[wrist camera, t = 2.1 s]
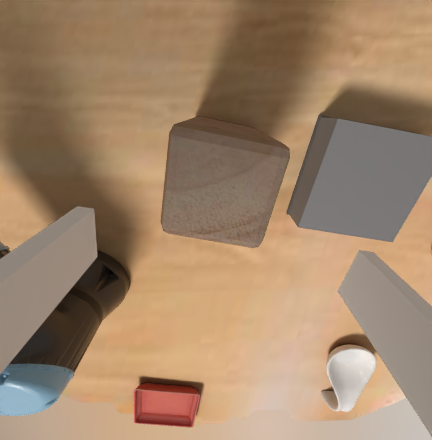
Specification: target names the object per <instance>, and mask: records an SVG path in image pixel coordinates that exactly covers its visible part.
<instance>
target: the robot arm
mask: <svg viewBox="0 0 432 440" xmlns="http://www.w3.org/2000/svg"><path fill="white" fill-rule="evenodd" d="M9 249H10V248H9V247H8V246H5V245H4V244H2V243H1V242H0V415H7V416H20V415H29V414H34V413H37V412H41V411H43V410H45V409H47V408H49V407H50V406H51V405H53V404H54V403H55V402H56V401H57V400H58V398H59V397H60V395H61V394H62V392H63V390H64V389H65V387H66V386H67V384H68V383H69V381H70V380H71V379H72V378H73V376H74V372H75V370H76V368H77V367H78V365H79V363H80V361H81V359H82V357H83V355H84V353H85V352H86V350H87V348H88V346H89V344H90V342H91V341H92V339H93V337H94V335H95V333H96V331H97V330H98V328H99V326H100V324H101V322H102V321H103V320H104V319H105V318H106V317H107V316H108V315H109V314H110V313H111V312H112V311H113V310H114V309H115V308H117V307H118V306H119V305H120V304H121V303H122V301H123V300H124V298H125V296H126V294H127V292H128V289H129V279H128V276H127V273H126V271H125V270H124V268H123V267H122V266H121V265H120V264H119V263H118V262H117V261H116V260H115V259H113V258H112V257H110V256H108V255H106V254H104V253H102V252H99V251H97V242H96V227H95V213H94V209H93V208H86V207H80V206H77V207H75V208H74V209H73V210H71V211H70V212H68V213H67V214H65V215H64V216H62V217H61V218H59V219H58V220H56V221H55V222H54V223H52V224H51V225H49V226H48V227H46V228H45V229H43V230H42V231H40V232H39V233H37V234H36V235H35V236H33V237H32V238H30V239H29V240H27V241H26V242H24V243H23V244H21V245H20V246H18V247H17V248H15V249H14V250H13V251H10V250H9ZM338 293H339V294H340V296H341V297H342V299H343V300H344V302H345V304H346V305H347V307H348V308H349V310H350V311H351V313H352V314H353V316H354V317H355V319H356V320H357V322H358V324H359V325H360V327H361V328H362V330H363V331H364V333H365V334H366V336H367V337H368V339H369V341H370V342H371V344H372V345H373V347H374V348H375V350H376V351H377V353H378V354H379V356H380V358H381V359H382V361H383V362H384V364H385V365H386V367H387V368H388V370H389V371H390V373H391V374H392V376H393V378H394V379H395V381H396V382H397V384H398V385H399V387H400V388H401V390H402V391H403V393H404V395H405V396H406V398H407V399H408V401H409V402H410V404H411V405H412V407H413V408H414V410H415V411H416V413H417V414H418V416H419V418H420V419H421V421H422V422H423V424H424V425H425V427H426V428H427V430H428V431H429V433H430V435H431V436H432V306H431V305H430V304H429V303H427V302H426V301H425V300H424V299H423V298H422V297H421V296H420V295H419V294H418V293H417V292H416V291H415V290H413V289H412V288H411V287H410V286H409V285H408V284H407V283H406V282H405V281H404V280H403V279H402V278H401V277H399V276H398V275H397V274H396V273H395V272H394V271H393V270H392V269H391V268H390V267H389V266H388V265H387V264H385V263H384V262H383V261H382V260H381V259H380V258H379V257H378V256H377V255H376V254H375V253H374V252H368V251H361V250H359V252H358V254H357V255H356V257H355V259H354V261H353V263H352V265H351V267H350V269H349V271H348V272H347V274H346V276H345V278H344V280H343V282H342V284H341V286H340V288H339V290H338Z"/></svg>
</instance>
